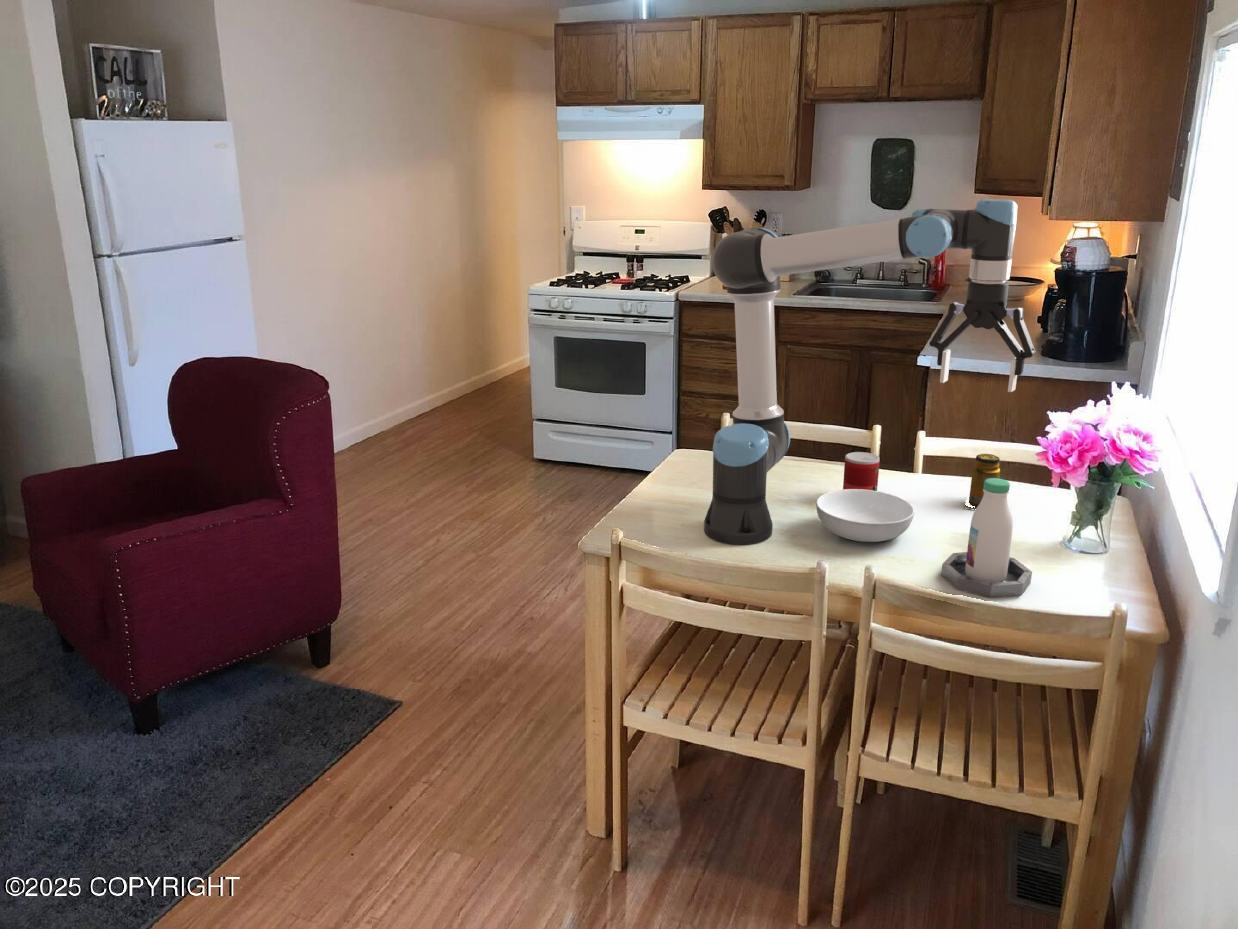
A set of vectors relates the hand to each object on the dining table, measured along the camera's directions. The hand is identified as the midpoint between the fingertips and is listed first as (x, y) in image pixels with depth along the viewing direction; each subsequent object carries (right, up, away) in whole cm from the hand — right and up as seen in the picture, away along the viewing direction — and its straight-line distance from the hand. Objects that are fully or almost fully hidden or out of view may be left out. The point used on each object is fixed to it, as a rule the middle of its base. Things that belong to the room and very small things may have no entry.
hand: (976, 386), depth 195 cm
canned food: (-15, -25, +36) cm, 46 cm away
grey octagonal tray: (-1, -39, -6) cm, 39 cm away
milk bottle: (-1, -38, -6) cm, 39 cm away
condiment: (+13, -26, +32) cm, 43 cm away
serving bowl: (-19, -31, +17) cm, 40 cm away
